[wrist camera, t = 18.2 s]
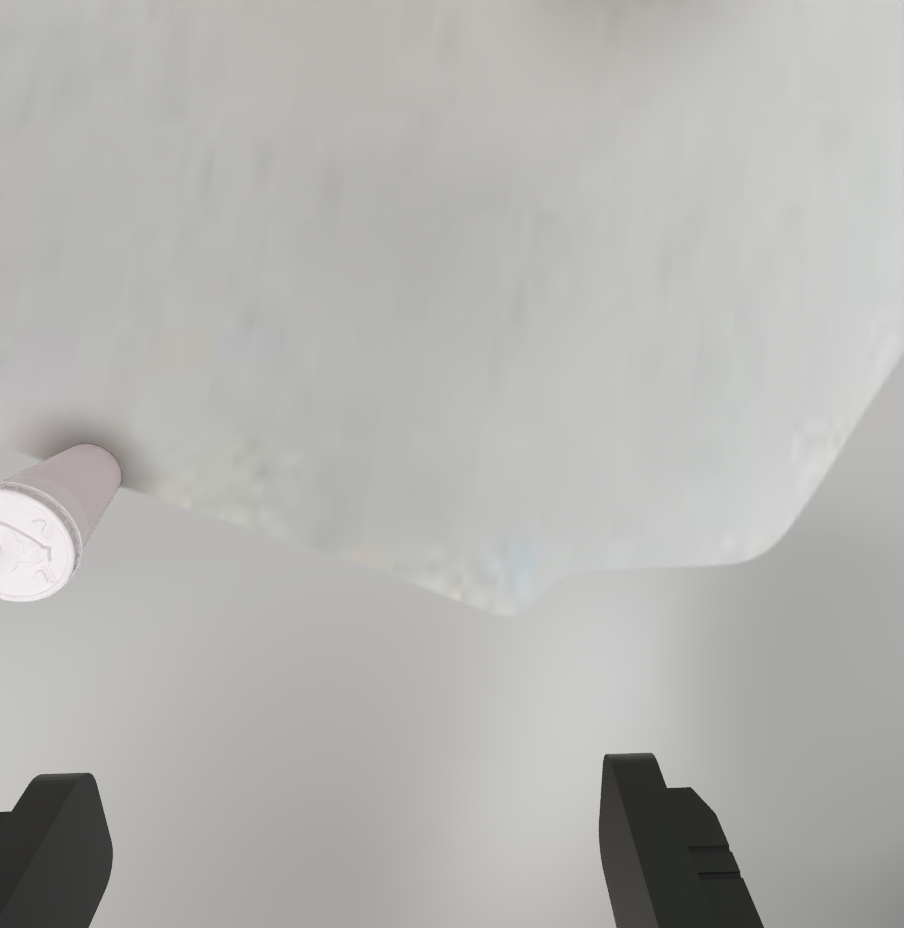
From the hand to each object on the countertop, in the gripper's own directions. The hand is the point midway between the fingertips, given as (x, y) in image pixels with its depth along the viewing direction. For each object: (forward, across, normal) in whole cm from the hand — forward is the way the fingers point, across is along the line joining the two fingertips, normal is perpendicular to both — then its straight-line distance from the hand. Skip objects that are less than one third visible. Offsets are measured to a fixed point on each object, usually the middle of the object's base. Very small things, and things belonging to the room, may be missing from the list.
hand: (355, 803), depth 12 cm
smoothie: (+34, -20, -8) cm, 41 cm away
